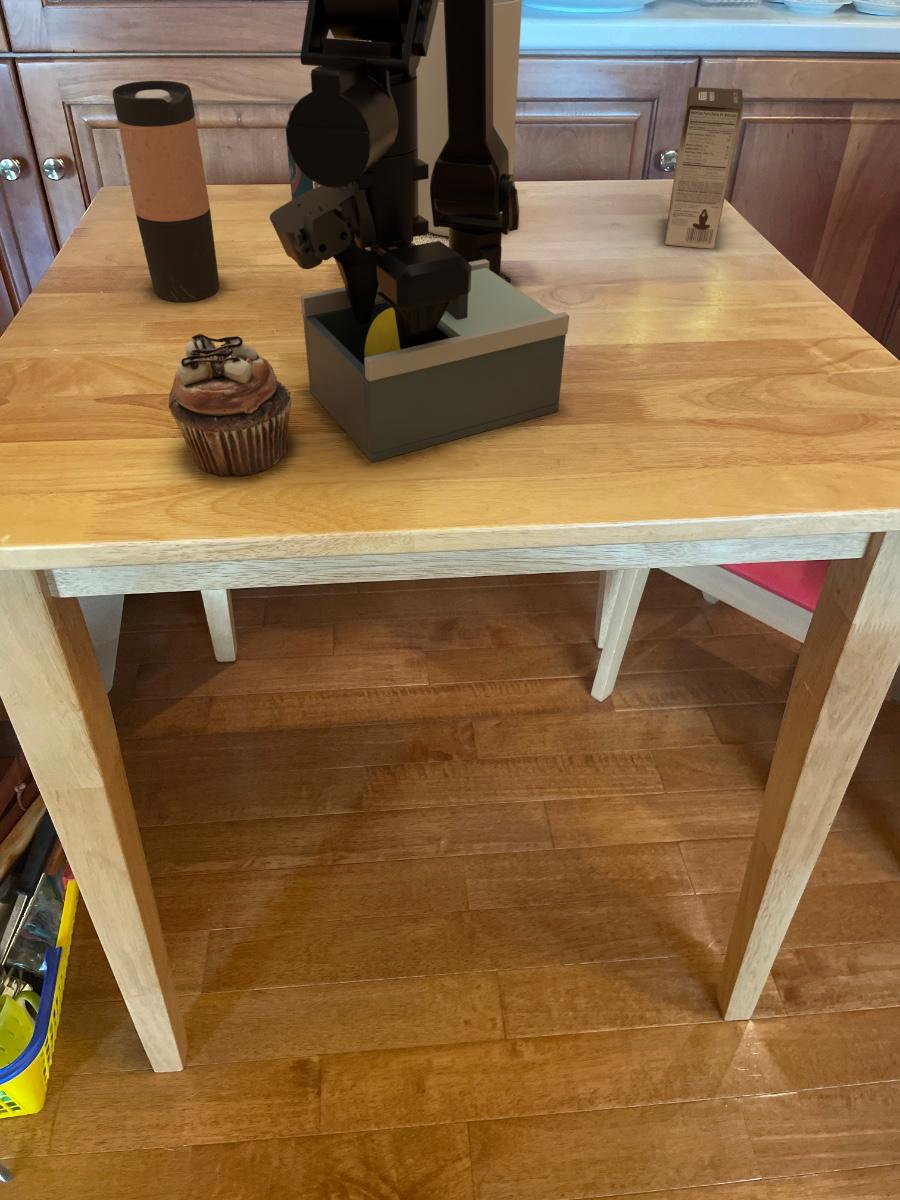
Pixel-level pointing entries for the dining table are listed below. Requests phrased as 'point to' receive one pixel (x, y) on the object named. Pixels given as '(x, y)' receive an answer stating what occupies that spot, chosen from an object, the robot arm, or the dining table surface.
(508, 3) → the cylinder vase
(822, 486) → the dining table surface
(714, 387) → the dining table surface
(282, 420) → the cupcake
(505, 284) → the slide door
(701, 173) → the coffee box
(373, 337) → the lemon
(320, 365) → the chest
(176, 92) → the travel mug
